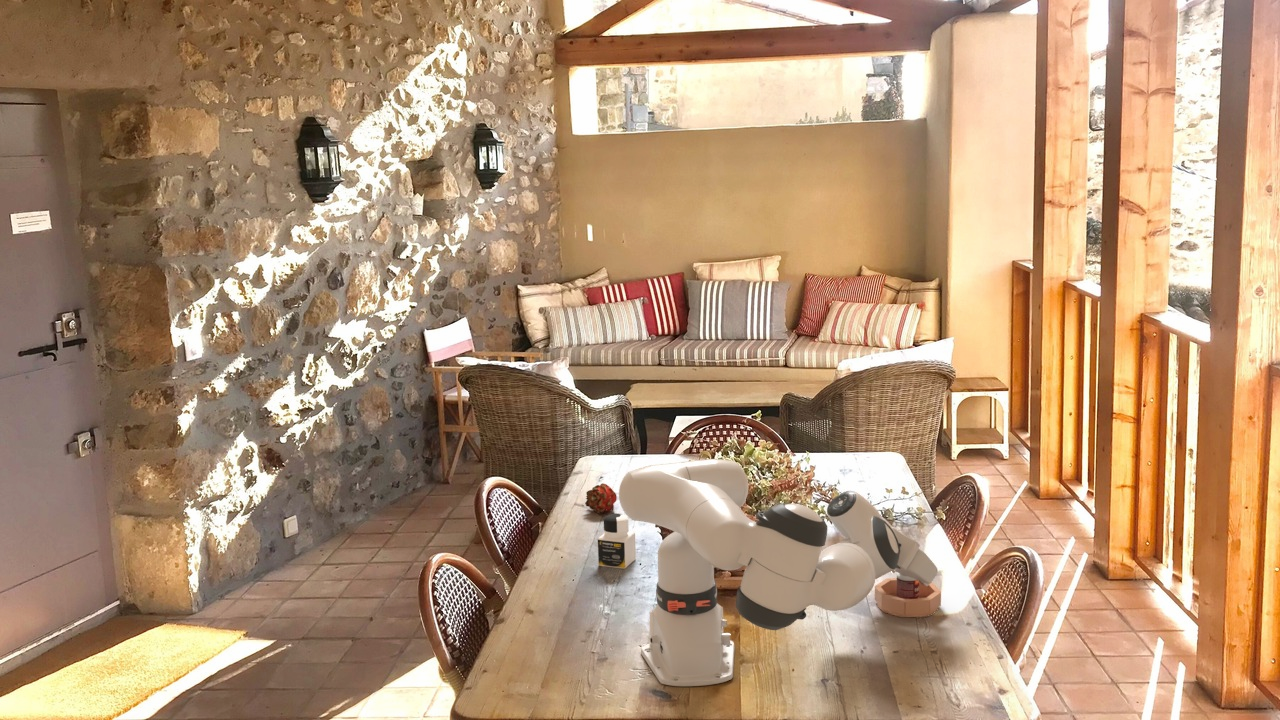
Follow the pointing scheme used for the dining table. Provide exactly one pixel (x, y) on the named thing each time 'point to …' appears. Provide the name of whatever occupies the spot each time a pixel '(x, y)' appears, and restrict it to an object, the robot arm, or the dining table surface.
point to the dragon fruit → (601, 498)
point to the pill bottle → (907, 587)
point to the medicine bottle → (616, 543)
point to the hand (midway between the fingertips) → (909, 576)
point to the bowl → (907, 600)
